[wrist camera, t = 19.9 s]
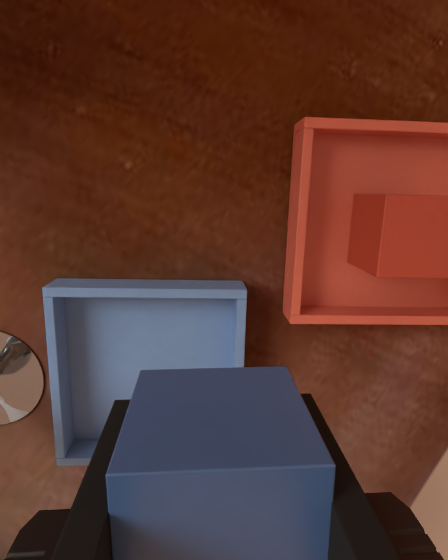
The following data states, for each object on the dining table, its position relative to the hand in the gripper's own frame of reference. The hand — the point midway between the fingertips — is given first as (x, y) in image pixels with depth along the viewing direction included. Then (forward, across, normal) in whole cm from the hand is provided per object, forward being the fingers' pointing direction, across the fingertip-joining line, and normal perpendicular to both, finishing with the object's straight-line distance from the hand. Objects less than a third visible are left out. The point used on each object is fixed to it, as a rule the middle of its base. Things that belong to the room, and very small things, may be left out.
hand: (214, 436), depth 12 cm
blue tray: (+15, -4, -4) cm, 16 cm away
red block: (+14, +12, +5) cm, 19 cm away
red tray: (+15, +12, +5) cm, 19 cm away
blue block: (0, 0, 0) cm, 0 cm away
